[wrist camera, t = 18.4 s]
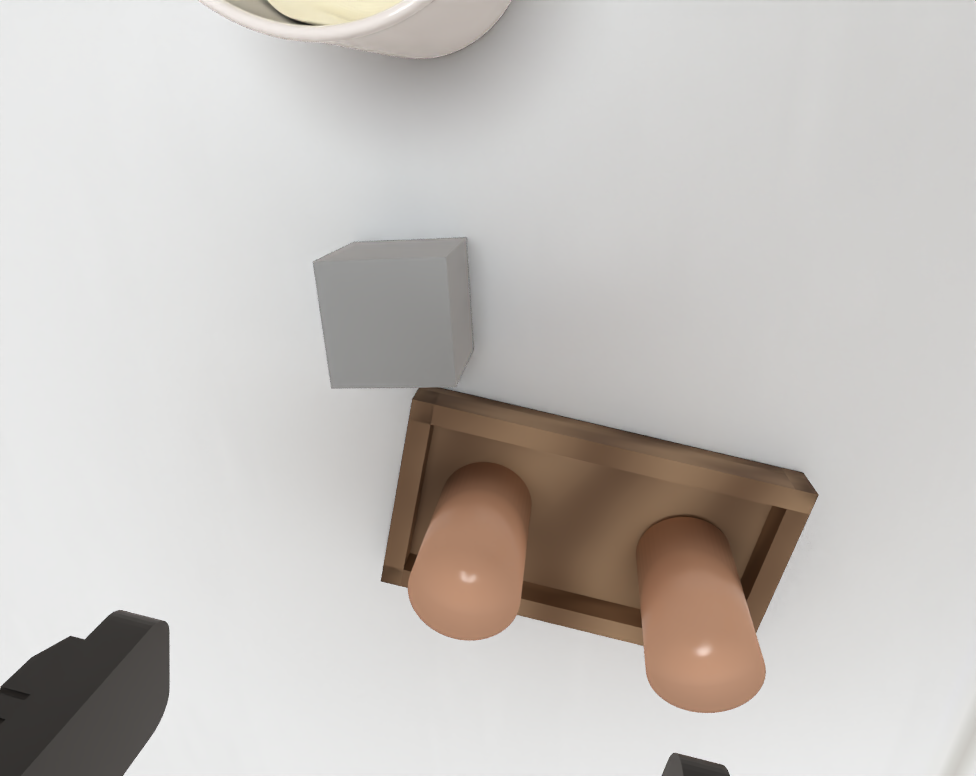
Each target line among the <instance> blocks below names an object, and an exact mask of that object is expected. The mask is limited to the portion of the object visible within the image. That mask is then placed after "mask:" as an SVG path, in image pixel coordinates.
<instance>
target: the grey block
mask: <svg viewBox="0 0 976 776" xmlns="http://www.w3.org/2000/svg"><path fill="white" fill-rule="evenodd" d="M313 267H314V274H315V280H316V287H317V294H318V301H319V308H320V314H321V321H322V328H323V335H324V342H325V348H326V355H327V362H328V369H329V376H330V382H331V388H429V387H456V386H457V384H458V382H459V380H460V378H461V376H462V373H463V371H464V369H465V367H466V365H467V362H468V360H469V358H470V356H471V354H472V352H473V349H474V346H473V331H472V315H471V300H470V284H469V269H468V254H467V238H466V237H462V238H436V239H411V240H386V241H360V242H352V243H350V244H348V245H346V246H344V247H342V248H340V249H338V250H336V251H334V252H331V253H329V254H327V255H325V256H323V257H321V258H319V259H317V260H315V261H313Z"/></svg>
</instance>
